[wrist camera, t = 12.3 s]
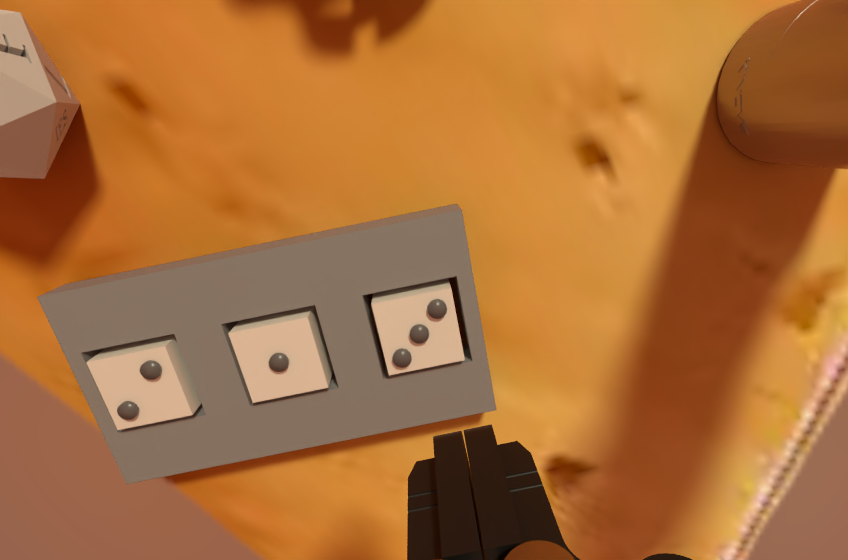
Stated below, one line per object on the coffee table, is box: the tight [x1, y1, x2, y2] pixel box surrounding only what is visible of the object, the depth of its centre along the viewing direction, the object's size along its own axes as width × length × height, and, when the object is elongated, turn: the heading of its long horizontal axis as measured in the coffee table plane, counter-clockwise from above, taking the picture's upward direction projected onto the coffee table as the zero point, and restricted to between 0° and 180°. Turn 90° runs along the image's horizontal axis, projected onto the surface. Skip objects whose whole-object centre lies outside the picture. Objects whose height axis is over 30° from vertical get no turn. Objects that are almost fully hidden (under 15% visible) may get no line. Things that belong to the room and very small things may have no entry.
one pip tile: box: [228, 305, 333, 403], centre depth 31 cm, size 5×5×3 cm
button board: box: [37, 204, 496, 484], centre depth 31 cm, size 26×14×2 cm, turn 101°
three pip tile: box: [371, 278, 465, 375], centre depth 31 cm, size 5×5×3 cm
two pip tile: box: [86, 334, 201, 430], centre depth 31 cm, size 5×5×3 cm
